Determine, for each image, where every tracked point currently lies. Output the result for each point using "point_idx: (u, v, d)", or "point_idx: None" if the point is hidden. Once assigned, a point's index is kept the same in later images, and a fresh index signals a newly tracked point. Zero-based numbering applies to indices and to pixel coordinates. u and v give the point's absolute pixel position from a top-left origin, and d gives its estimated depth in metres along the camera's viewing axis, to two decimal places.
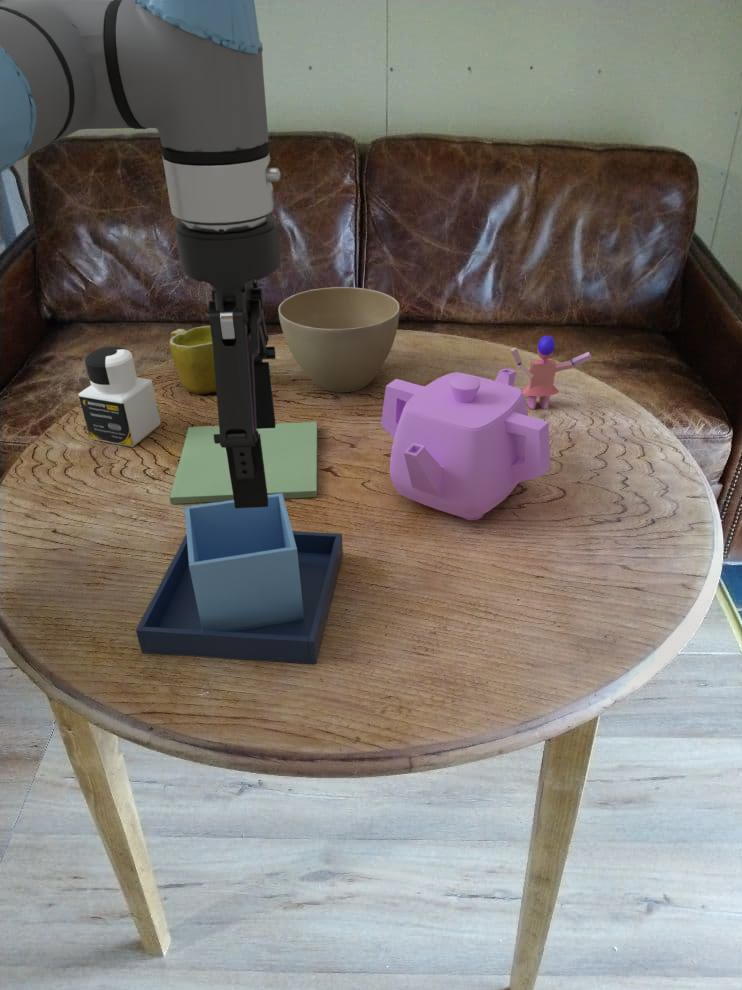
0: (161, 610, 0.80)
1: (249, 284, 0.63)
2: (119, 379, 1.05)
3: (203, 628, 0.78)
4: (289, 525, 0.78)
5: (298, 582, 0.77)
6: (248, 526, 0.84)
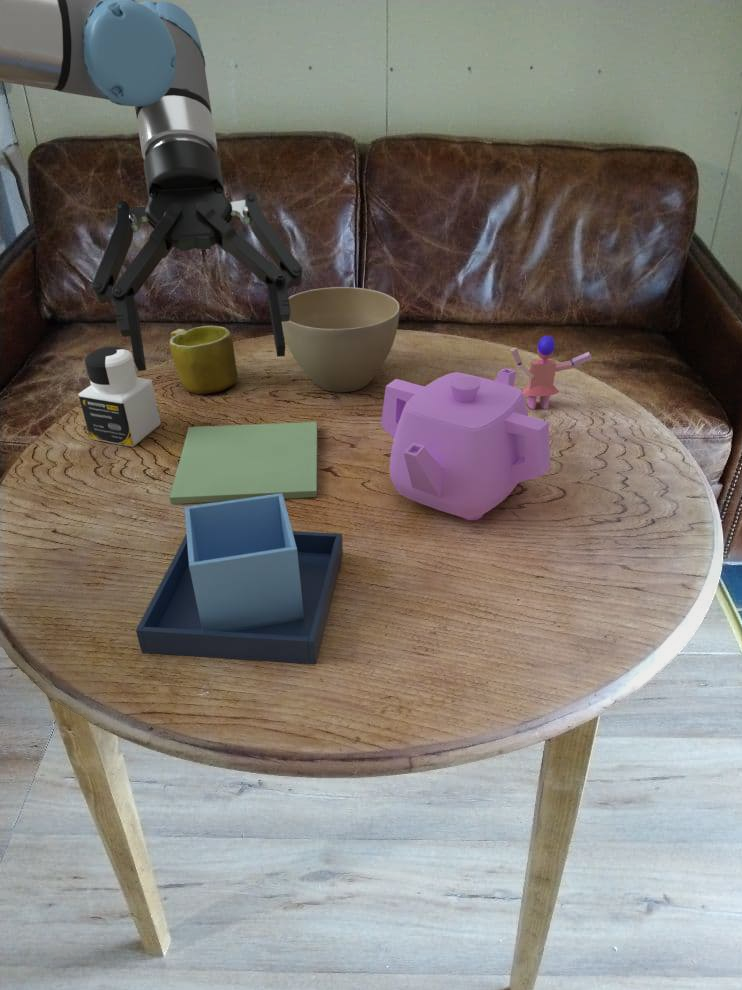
0: (161, 610, 0.80)
1: None
2: (119, 379, 1.05)
3: (203, 628, 0.78)
4: (289, 525, 0.78)
5: (298, 582, 0.77)
6: (248, 526, 0.84)
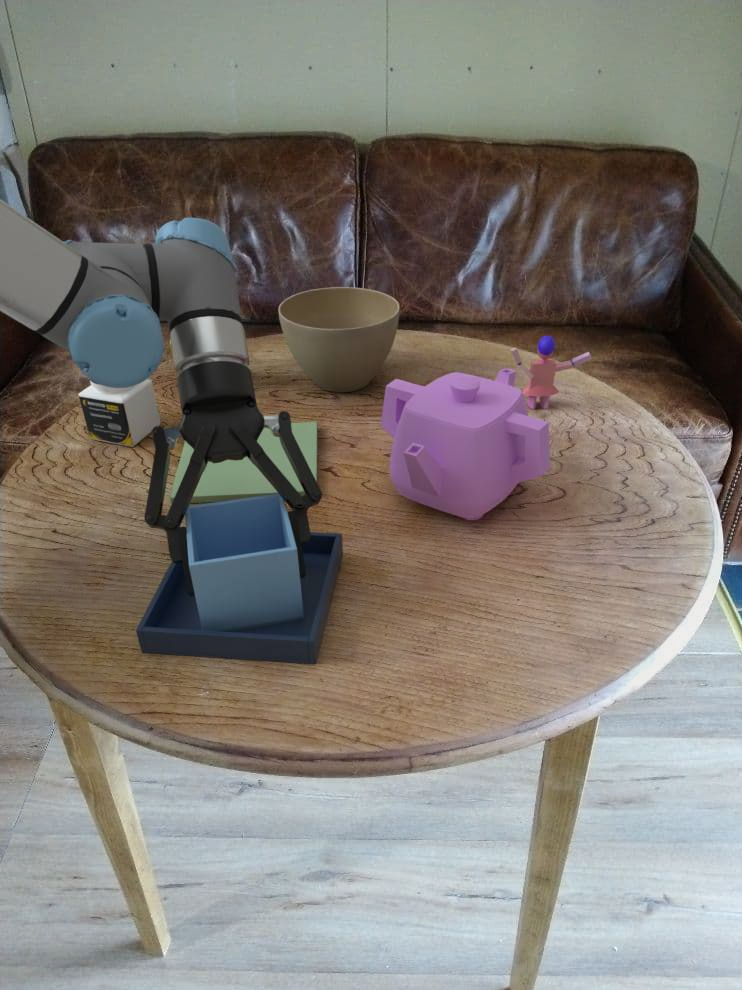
0: (161, 610, 0.80)
1: None
2: None
3: (203, 628, 0.78)
4: (289, 525, 0.78)
5: (298, 582, 0.77)
6: (248, 526, 0.84)
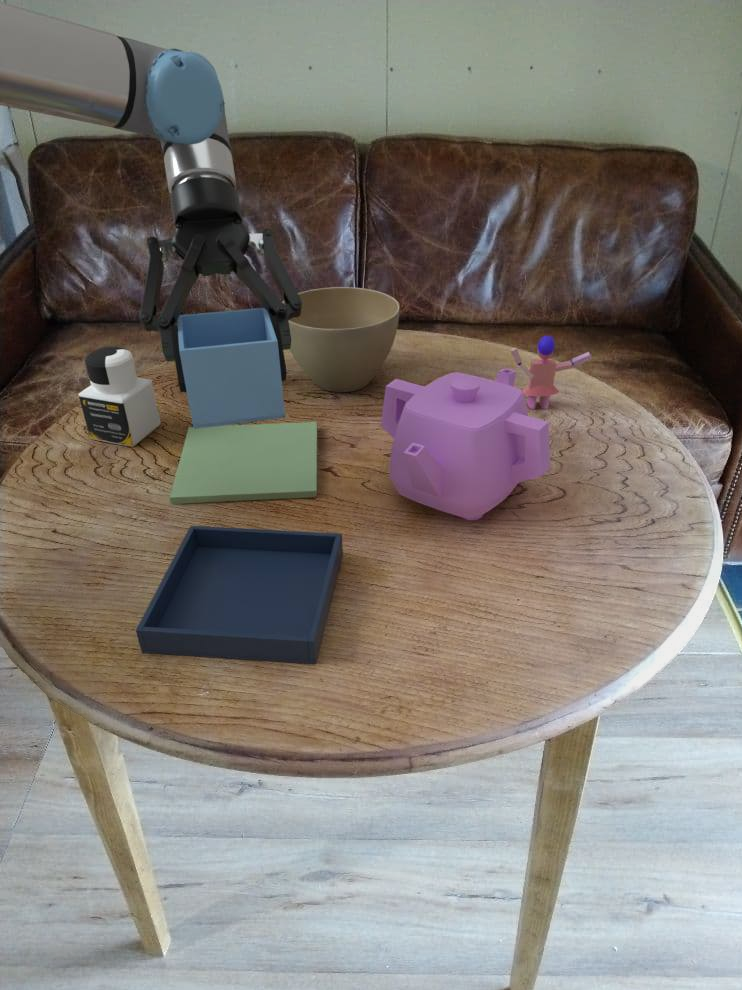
0: (161, 610, 0.80)
1: None
2: (119, 379, 1.05)
3: (193, 419, 0.86)
4: (271, 326, 0.86)
5: (279, 377, 0.85)
6: (235, 339, 0.91)
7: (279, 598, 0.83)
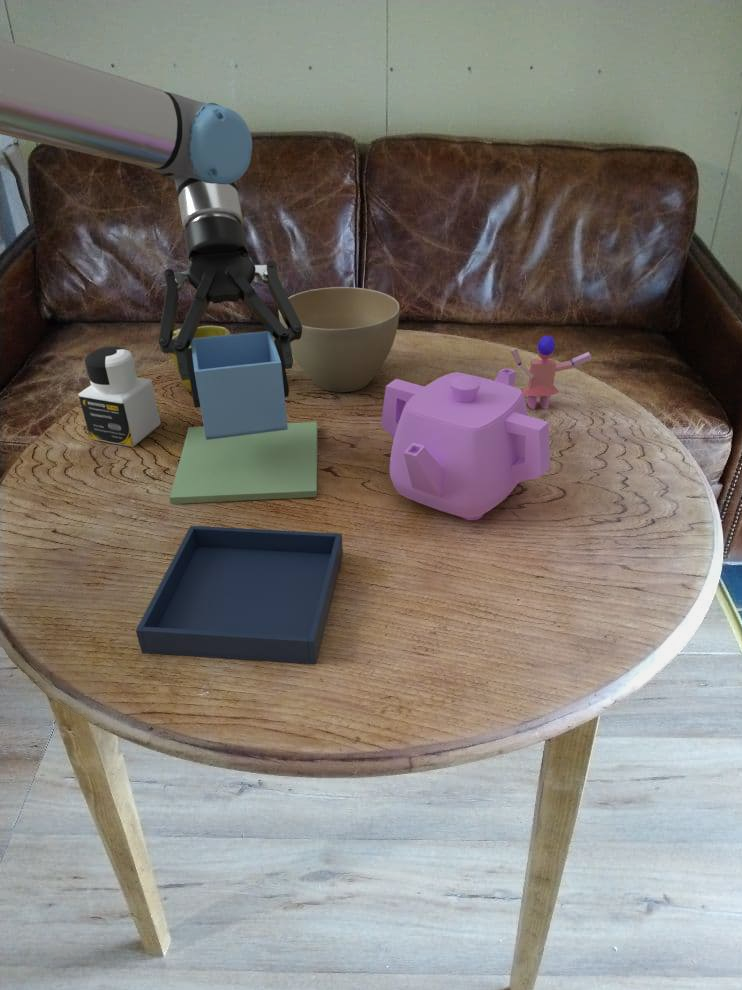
0: (161, 610, 0.80)
1: None
2: (119, 379, 1.05)
3: (205, 431, 0.96)
4: (275, 349, 0.96)
5: (282, 394, 0.96)
6: (242, 359, 1.02)
7: (279, 598, 0.83)
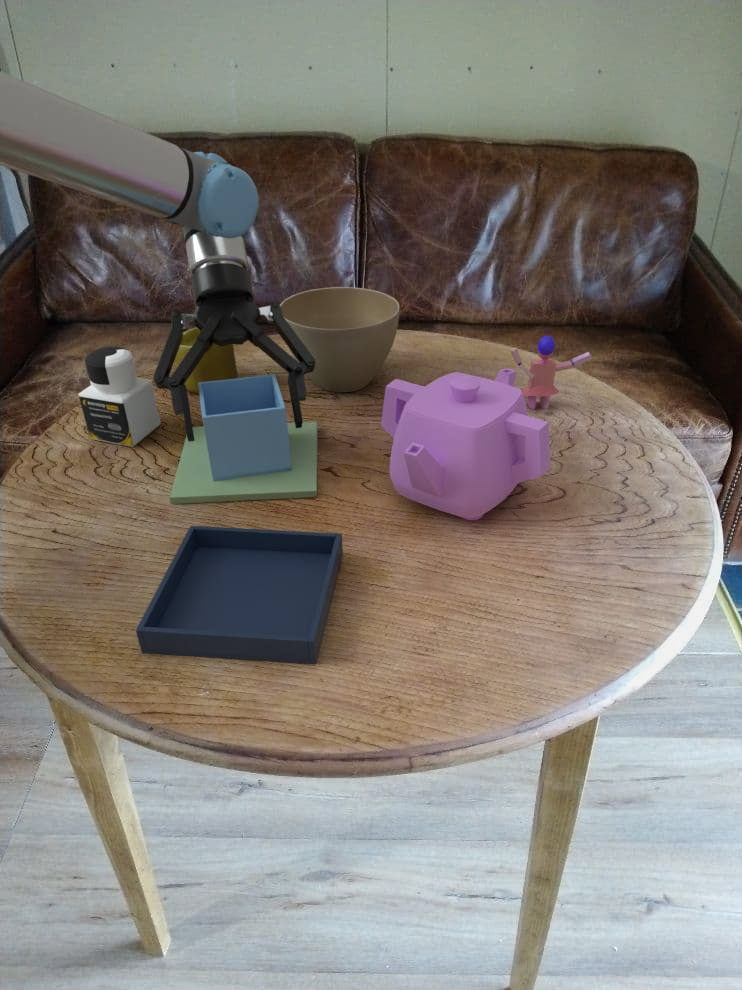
0: (161, 610, 0.80)
1: None
2: (119, 379, 1.05)
3: (212, 473, 1.00)
4: (280, 393, 1.00)
5: (287, 437, 0.99)
6: (248, 401, 1.06)
7: (279, 598, 0.83)
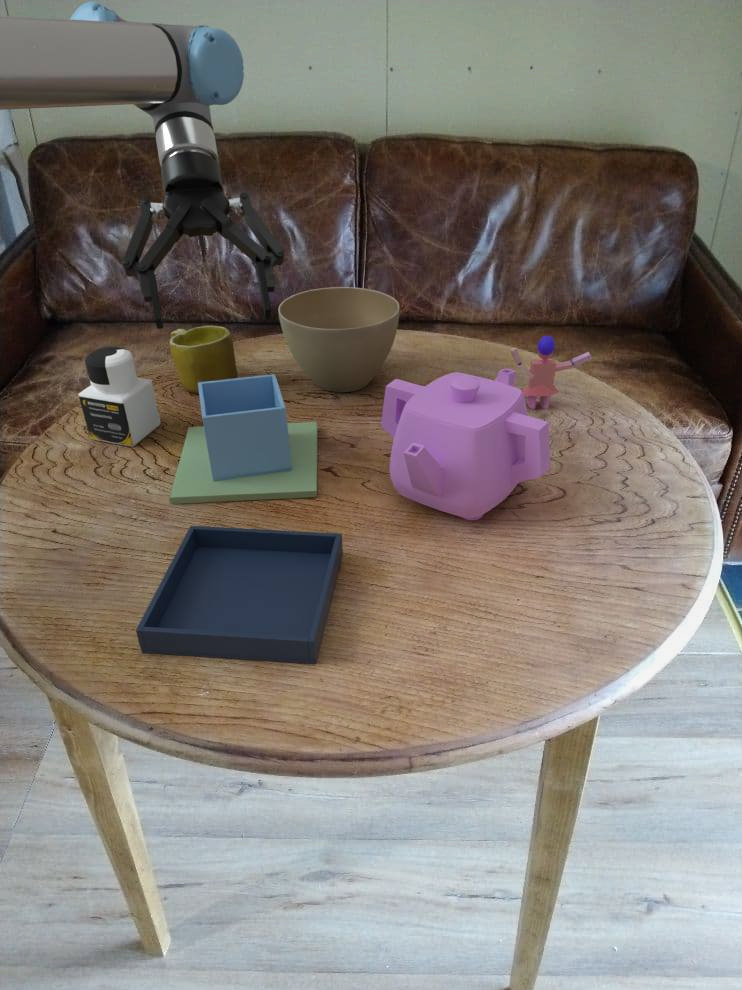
0: (161, 610, 0.80)
1: None
2: (119, 379, 1.05)
3: (212, 473, 1.00)
4: (280, 393, 1.00)
5: (287, 437, 0.99)
6: (248, 401, 1.06)
7: (279, 598, 0.83)
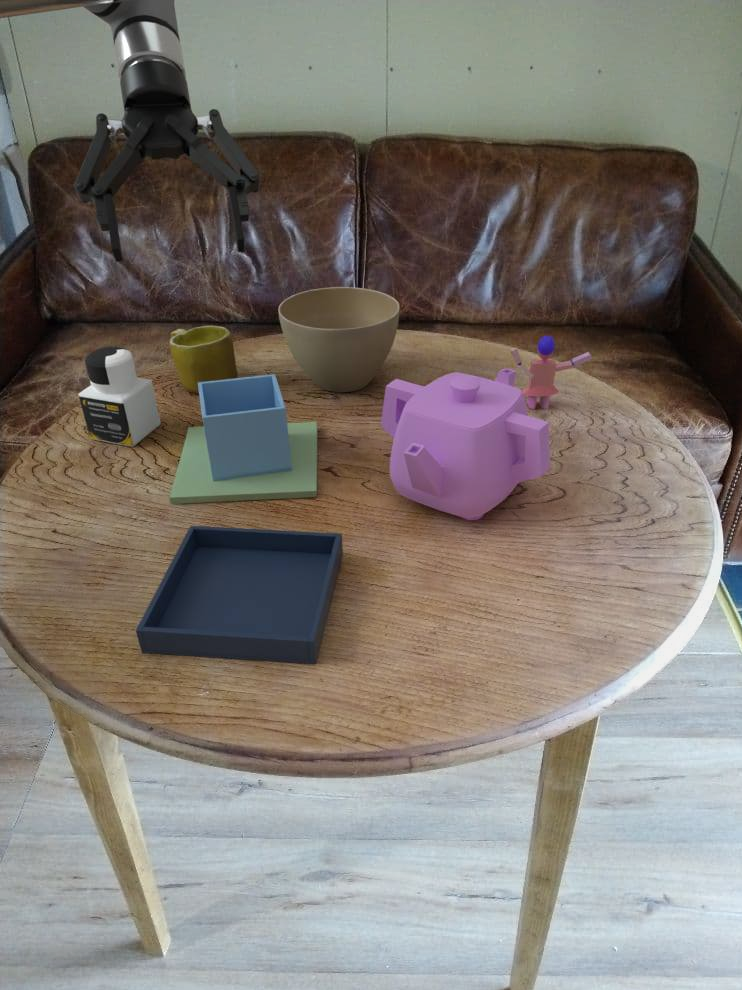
0: (161, 610, 0.80)
1: None
2: (119, 379, 1.05)
3: (212, 473, 1.00)
4: (280, 393, 1.00)
5: (287, 437, 0.99)
6: (248, 401, 1.06)
7: (279, 598, 0.83)
